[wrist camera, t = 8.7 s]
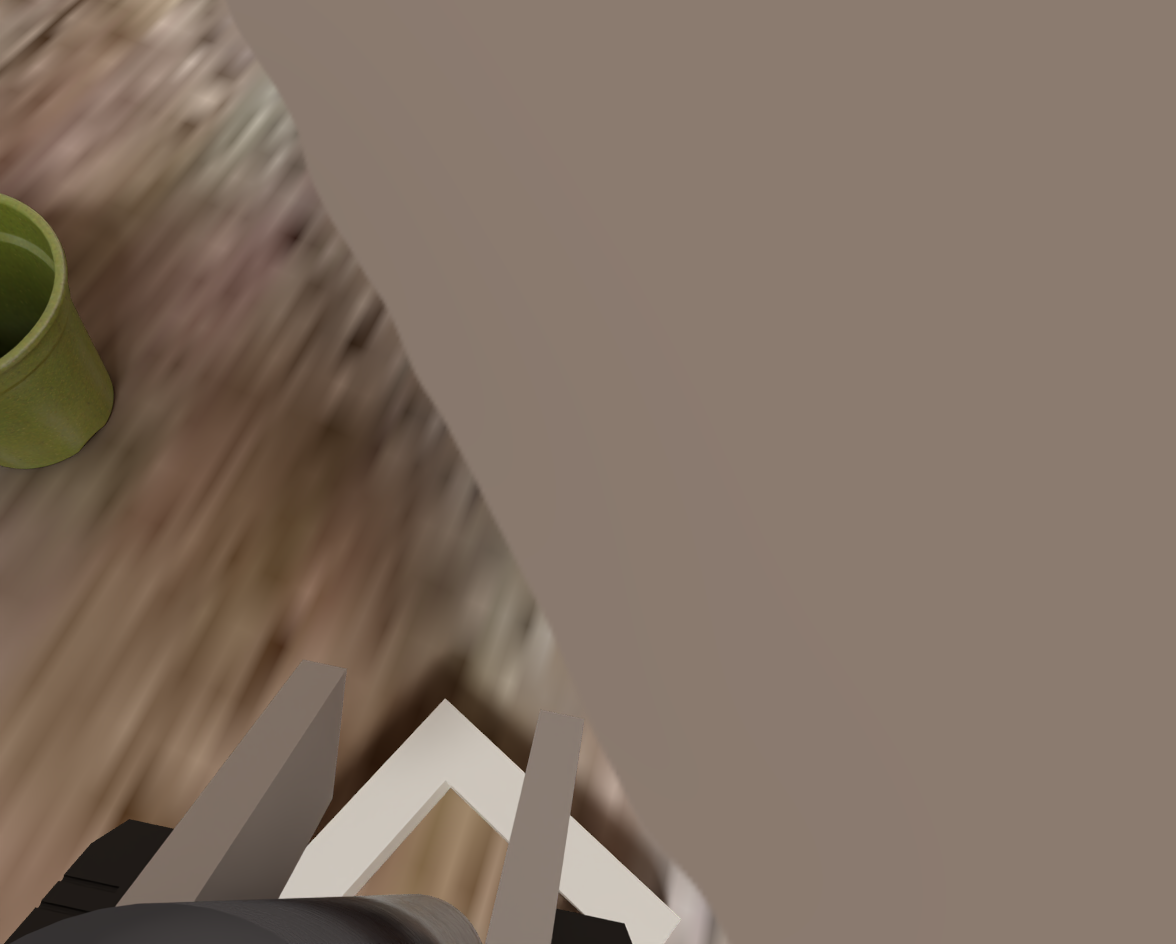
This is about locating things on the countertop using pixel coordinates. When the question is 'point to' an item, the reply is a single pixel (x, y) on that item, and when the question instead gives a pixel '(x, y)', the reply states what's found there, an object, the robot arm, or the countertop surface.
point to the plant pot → (43, 349)
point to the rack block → (492, 789)
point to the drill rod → (268, 922)
